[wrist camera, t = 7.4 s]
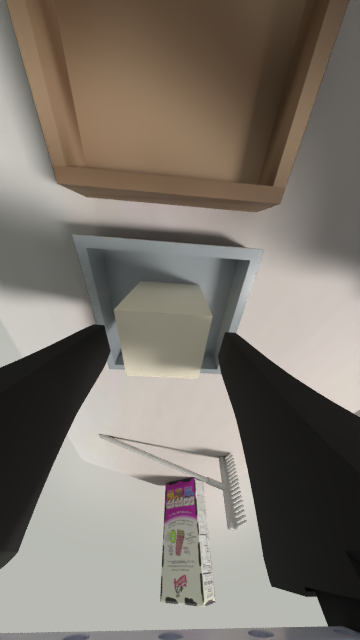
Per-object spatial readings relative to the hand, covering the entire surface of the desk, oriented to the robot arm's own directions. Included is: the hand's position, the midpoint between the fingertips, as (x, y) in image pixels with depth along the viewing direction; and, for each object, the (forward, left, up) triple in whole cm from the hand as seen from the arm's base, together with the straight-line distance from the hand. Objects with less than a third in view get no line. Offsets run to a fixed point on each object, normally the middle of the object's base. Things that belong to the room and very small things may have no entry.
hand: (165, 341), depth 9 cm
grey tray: (0, 0, -4) cm, 4 cm away
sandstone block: (0, 0, -4) cm, 4 cm away
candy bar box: (-46, +37, -5) cm, 59 cm away
